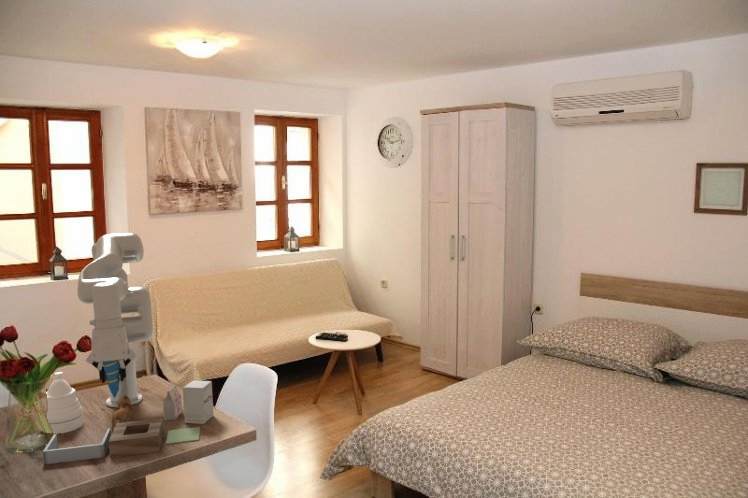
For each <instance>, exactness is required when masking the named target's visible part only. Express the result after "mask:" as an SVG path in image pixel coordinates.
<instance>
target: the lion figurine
mask: <svg viewBox="0 0 748 498" xmlns="http://www.w3.org/2000/svg"><path fill="white" fill-rule="evenodd" d="M116 404H117V405H118V406H119V407H118V410H116V411H114V412H113V414H112V417H111V419H112V420H111V423H112V424H111V427H110V428H111V435H112V433H113V431H114V428H115V426H116V424H117V421H118V423H124V422H125V418H127V422H133V421H132V420H131V419H132V417H131V416H132V414H131V412H132V411H133V405H131V401H130V399H129V397H128V396H126V395H123V396H120V398H119V400H118V401H117V402H116Z"/></svg>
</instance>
